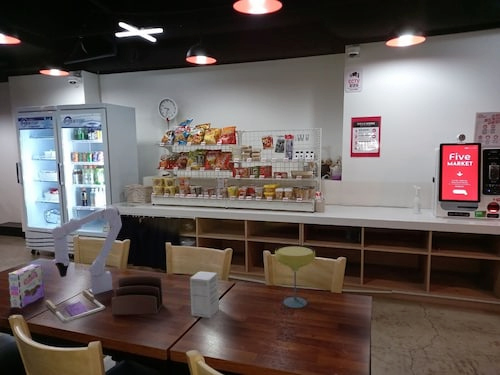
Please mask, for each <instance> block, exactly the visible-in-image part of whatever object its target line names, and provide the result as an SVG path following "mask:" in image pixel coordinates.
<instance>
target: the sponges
mask: <svg viewBox="0 0 500 375" xmlns="http://www.w3.org/2000/svg"><path fill="white" fill-rule="evenodd" d="M63 307H64V310H65V311H66V312H67V313H68V314H69V315H70V317H72V316H75V315H78V314H82V313H85V312H88V311H90V310H89V309H88V308H87V307H86V306H85V304H84V303H82V302H81V301H77V302H74V303H71V304H67V305H64V306H63Z"/></svg>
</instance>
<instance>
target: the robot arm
mask: <svg viewBox="0 0 500 375" xmlns="http://www.w3.org/2000/svg"><path fill="white" fill-rule="evenodd" d="M98 219H99V220H103V219H104V220H105V221H107V223H108V224H109V226H110V228H109V231H108V233H107V236H106V238H105V240H104V242H103V245H102V246H101V249H100V251H99V253H98V255H97V257H96V259H94V260H93V261H92V264H91V265H90V267H89V273H90V285H91V288H89V289H88V292H89V293H90V292H91V294H92V295H93V296H95V295H98V294H101V293H105V292H108V291H111V290H114V288H113V279H112V277H113V276H112V274H111V272H110V271H109V270H108V271H107V270H105V267H106V265H107V259H108V257H109V254H110V252H111V250H112V248H113V246H114V244H115V241H116V239H117V237H118V235H119V233H120V230H121V229H122V225H123V224H122V219H121V212H120V210H119V209H118V207H116V206H115V205H108V206H107V207H103V208H100V209H97V210H95V211H93V212H91V213H89V214H87V215H86V216H83V217H81V218H78V217H77V218H76V217H75V218H70V219H69V221H67V222H64V223H63V222H62V223H60V225H58V226H56V227H54V228H53V229H52V231H51V235H52V238H53V247H54V259H52V263H54V264H55V266H56V267H57V269H58V273H59V276H60V277H61V278H64V277H67V272H68V268H69V266H70V258H69V250H68V249H69V248H68V247H69V246H68V239H67V238H68V237H67V235H70V234H73V233H74V232H76V231H79V230H80V229H82V227H83V225H86V224H87V223H91V222H92V221H94V220H98Z"/></svg>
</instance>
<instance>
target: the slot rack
mask: <svg viewBox="0 0 500 375" xmlns="http://www.w3.org/2000/svg"><path fill="white" fill-rule="evenodd" d="M82 294H83V295H84V296H85V297H86V298H87V299H89V300H90V301H92V302H94V301H93V300H96V299H95V295H94V294H93V293H90V291H89V290H87V289H82ZM45 304H46V306H47V307H48V308H49V309H50V310H51V311H52V312H53V314H54V313H55V314H56V312H57V311H58V308H57V306H55V304H54V303H53V302H52V301H51V300H50V299H47V300H46V299H45Z"/></svg>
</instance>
